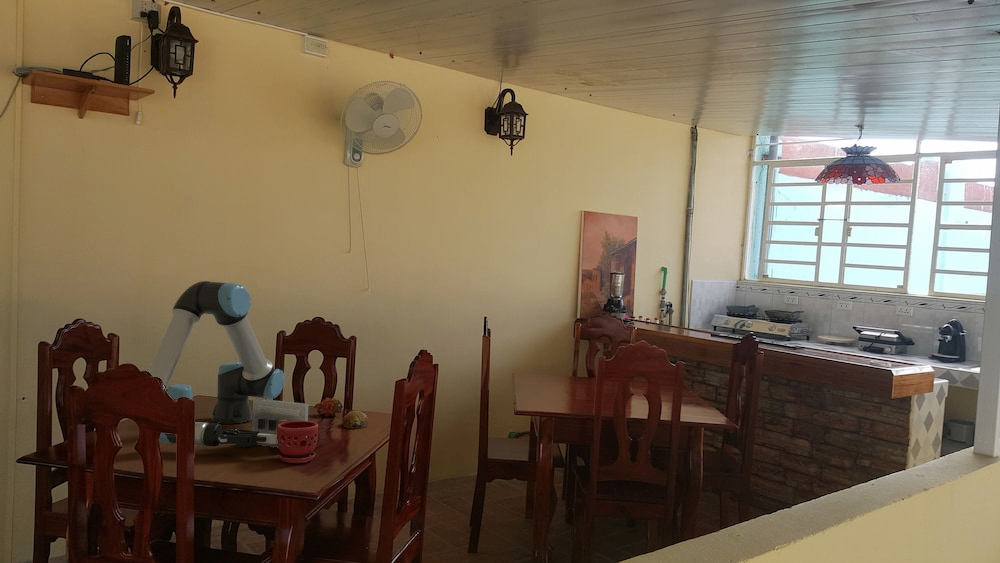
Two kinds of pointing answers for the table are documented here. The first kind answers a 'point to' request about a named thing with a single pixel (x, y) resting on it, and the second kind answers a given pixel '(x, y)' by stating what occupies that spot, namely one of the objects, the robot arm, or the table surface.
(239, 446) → the cord coil
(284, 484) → the table surface
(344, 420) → the bread roll
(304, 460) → the plant pot
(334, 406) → the dragon fruit
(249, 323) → the robot arm
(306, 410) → the breaker panel
